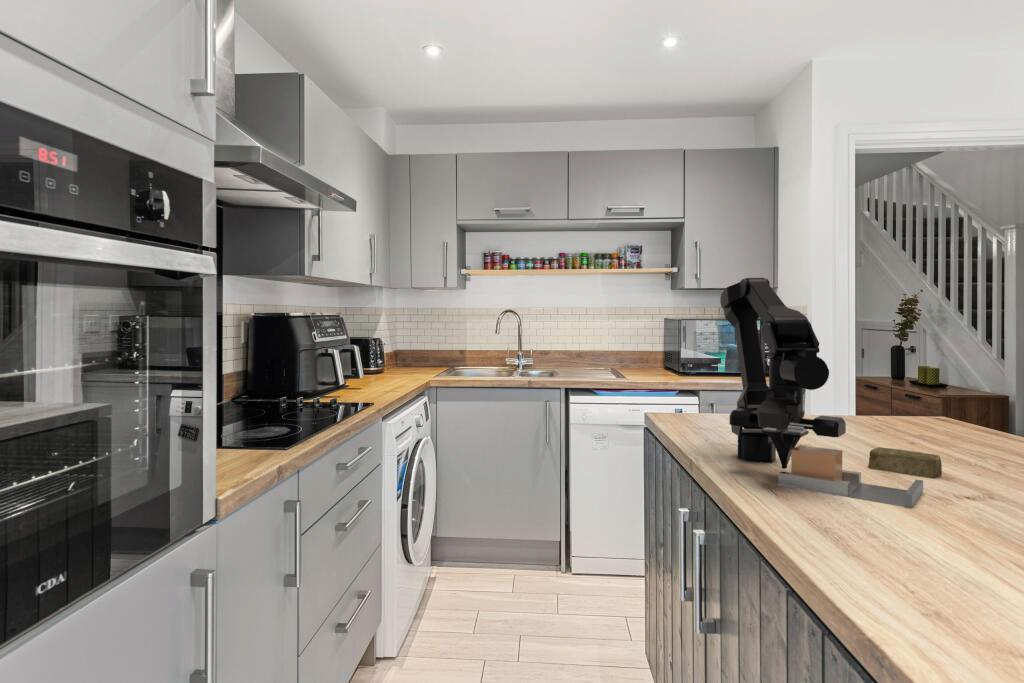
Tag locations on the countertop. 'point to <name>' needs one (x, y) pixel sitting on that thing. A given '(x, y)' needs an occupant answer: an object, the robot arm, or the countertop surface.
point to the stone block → (905, 462)
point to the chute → (853, 488)
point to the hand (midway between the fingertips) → (784, 468)
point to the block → (817, 462)
